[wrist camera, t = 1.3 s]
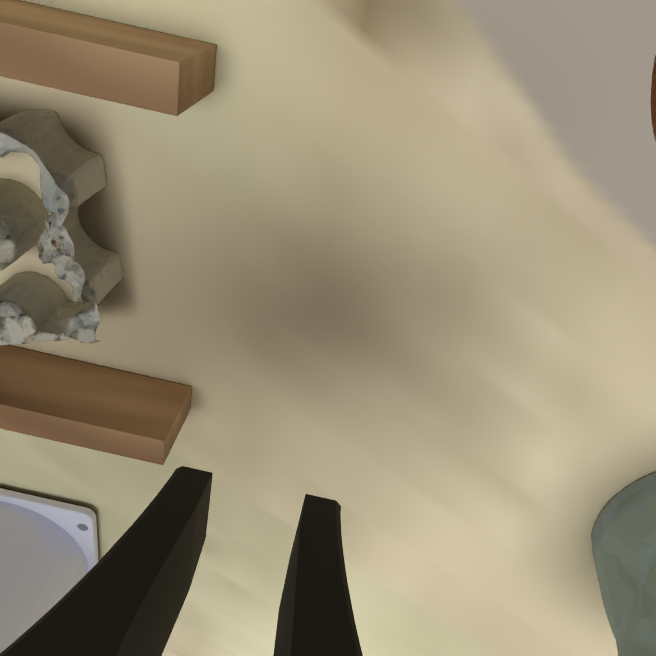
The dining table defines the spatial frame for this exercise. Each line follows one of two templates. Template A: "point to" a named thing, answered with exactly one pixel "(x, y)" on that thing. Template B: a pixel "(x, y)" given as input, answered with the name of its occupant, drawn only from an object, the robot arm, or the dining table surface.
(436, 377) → the dining table surface
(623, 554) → the grey cup
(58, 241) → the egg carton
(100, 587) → the robot arm
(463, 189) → the dining table surface
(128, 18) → the dining table surface
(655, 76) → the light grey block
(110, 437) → the bay
